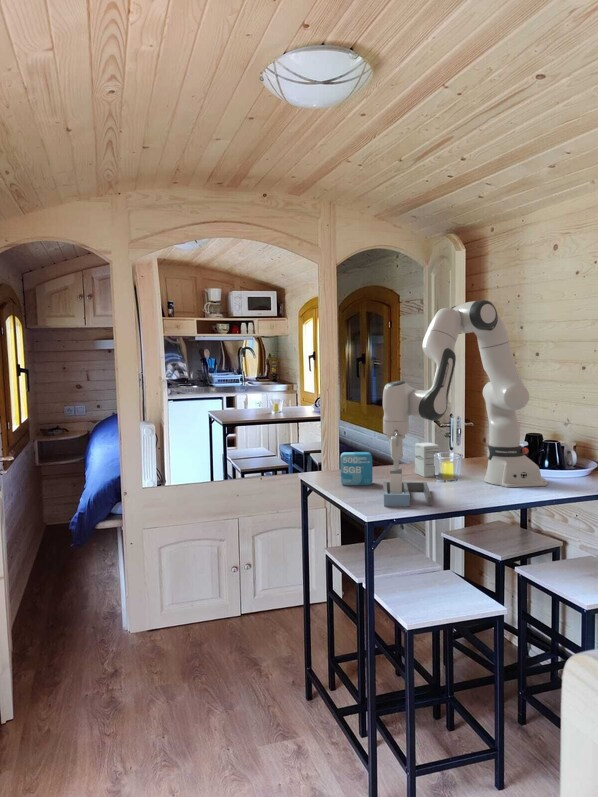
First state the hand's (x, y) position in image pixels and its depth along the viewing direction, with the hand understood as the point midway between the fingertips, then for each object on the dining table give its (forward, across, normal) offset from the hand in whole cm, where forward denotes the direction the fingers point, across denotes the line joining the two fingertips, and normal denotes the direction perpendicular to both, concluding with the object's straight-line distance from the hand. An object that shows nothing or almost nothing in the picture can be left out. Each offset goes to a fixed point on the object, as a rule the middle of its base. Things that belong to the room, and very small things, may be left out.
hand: (396, 467), depth 210 cm
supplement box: (+11, +37, -13) cm, 41 cm away
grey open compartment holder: (+11, 0, -3) cm, 11 cm away
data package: (+11, +20, +15) cm, 27 cm away
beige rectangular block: (+11, 0, 0) cm, 11 cm away
